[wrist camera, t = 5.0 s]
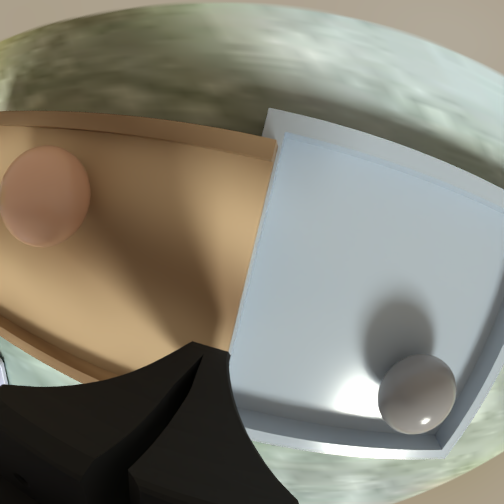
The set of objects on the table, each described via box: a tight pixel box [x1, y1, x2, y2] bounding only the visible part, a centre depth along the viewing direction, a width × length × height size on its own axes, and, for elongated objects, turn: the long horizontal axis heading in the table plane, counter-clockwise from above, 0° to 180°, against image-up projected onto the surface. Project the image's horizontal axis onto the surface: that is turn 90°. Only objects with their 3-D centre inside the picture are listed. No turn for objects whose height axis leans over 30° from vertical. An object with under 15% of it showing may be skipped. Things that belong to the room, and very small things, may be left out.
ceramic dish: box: [229, 108, 504, 459], centre depth 11 cm, size 13×13×2 cm
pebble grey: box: [377, 354, 457, 435], centre depth 11 cm, size 3×3×3 cm
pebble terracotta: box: [0, 145, 91, 247], centre depth 9 cm, size 3×3×3 cm
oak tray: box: [0, 111, 278, 384], centre depth 12 cm, size 10×14×3 cm
